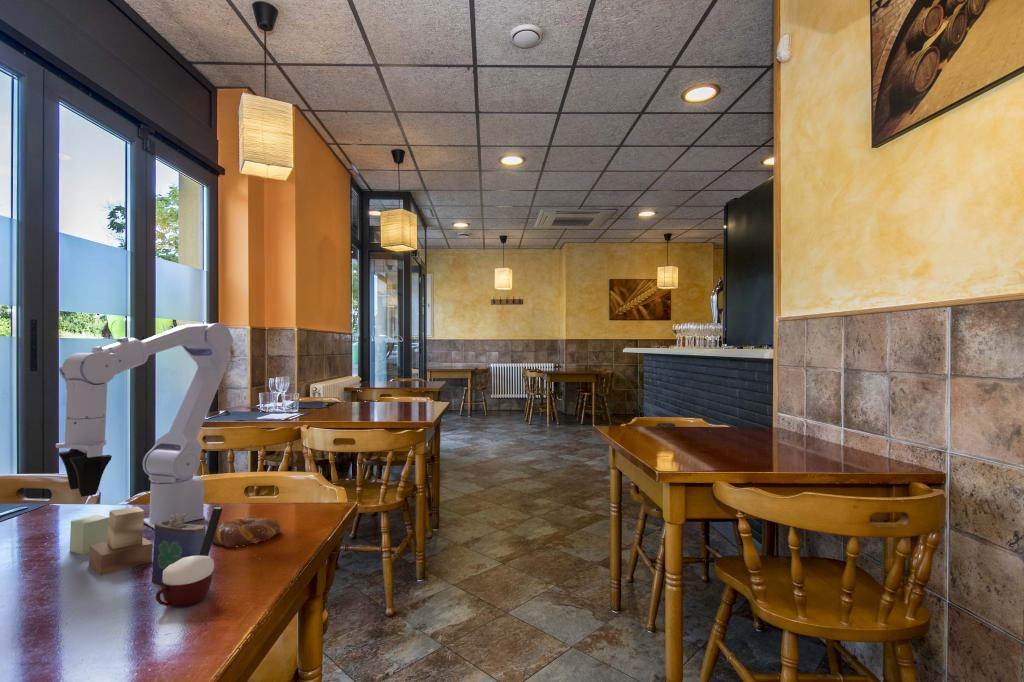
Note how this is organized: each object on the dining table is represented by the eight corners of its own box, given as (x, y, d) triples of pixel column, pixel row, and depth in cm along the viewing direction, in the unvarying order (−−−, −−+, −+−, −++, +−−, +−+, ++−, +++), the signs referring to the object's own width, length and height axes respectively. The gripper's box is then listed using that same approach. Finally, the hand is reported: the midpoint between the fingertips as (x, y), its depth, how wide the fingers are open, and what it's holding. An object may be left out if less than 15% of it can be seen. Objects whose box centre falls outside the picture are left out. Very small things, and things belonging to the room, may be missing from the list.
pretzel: (280, 526, 107) (281, 508, 107) (280, 543, 97) (281, 524, 97) (215, 534, 102) (215, 515, 102) (208, 553, 92) (208, 532, 92)
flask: (207, 582, 79) (209, 513, 79) (191, 591, 76) (193, 519, 77) (162, 575, 82) (164, 508, 82) (144, 583, 79) (146, 513, 79)
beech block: (135, 537, 90) (137, 506, 90) (142, 543, 87) (144, 510, 87) (107, 543, 87) (109, 510, 87) (113, 549, 84) (115, 515, 84)
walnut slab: (138, 554, 91) (139, 534, 91) (151, 564, 87) (152, 543, 87) (88, 566, 86) (89, 545, 86) (100, 577, 81) (101, 555, 82)
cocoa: (159, 622, 68) (158, 533, 68) (145, 605, 72) (145, 522, 72) (234, 594, 75) (234, 514, 75) (218, 580, 79) (218, 505, 79)
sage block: (95, 544, 95) (96, 514, 95) (107, 547, 93) (109, 517, 94) (69, 551, 91) (71, 520, 92) (82, 554, 90) (83, 523, 90)
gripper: (48, 416, 95) (45, 489, 94) (67, 422, 86) (63, 503, 85) (96, 413, 100) (93, 482, 100) (118, 419, 91) (115, 495, 91)
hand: (83, 491), depth 93 cm, fingers open, 7 cm apart
